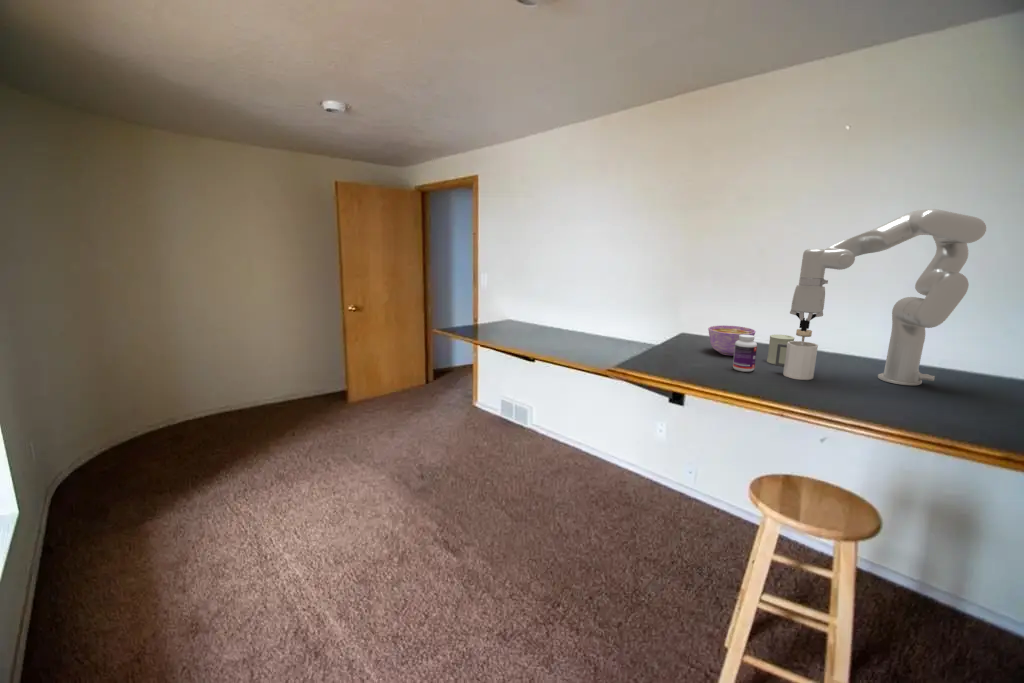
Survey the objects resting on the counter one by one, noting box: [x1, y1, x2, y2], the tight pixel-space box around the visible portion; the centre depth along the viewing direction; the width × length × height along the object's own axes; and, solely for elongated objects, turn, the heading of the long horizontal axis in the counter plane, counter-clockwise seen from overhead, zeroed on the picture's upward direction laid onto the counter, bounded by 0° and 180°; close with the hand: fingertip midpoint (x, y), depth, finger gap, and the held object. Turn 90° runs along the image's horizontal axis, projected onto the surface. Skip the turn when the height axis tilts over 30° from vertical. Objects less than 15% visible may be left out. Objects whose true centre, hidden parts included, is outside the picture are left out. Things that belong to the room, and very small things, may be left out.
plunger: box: [795, 328, 813, 346], centre depth 173 cm, size 7×7×14 cm
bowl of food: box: [707, 325, 757, 357], centre depth 209 cm, size 20×20×12 cm
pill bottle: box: [732, 335, 758, 373], centre depth 183 cm, size 8×8×14 cm
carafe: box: [774, 340, 819, 381], centre depth 175 cm, size 13×10×13 cm
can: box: [766, 334, 795, 365], centre depth 194 cm, size 9×9×12 cm
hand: (803, 330), depth 172 cm, fingers closed
